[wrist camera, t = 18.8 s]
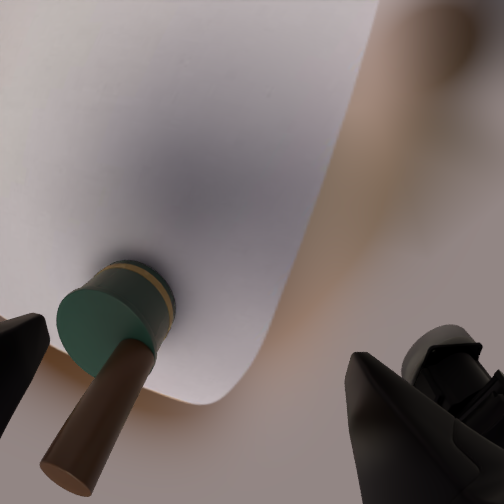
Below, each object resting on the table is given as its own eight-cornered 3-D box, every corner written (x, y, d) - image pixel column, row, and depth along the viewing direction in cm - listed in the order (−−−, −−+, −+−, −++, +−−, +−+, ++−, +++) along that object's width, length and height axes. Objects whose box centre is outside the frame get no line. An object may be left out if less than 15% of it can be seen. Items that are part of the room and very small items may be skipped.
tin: (174, 263, 21) (149, 295, 16) (178, 345, 23) (159, 387, 19) (90, 255, 21) (53, 281, 17) (102, 332, 24) (73, 367, 19)
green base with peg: (84, 261, 16) (-41, 359, 7) (179, 340, 17) (116, 488, 8) (48, 332, 18) (-39, 424, 9) (126, 396, 19) (69, 510, 10)
